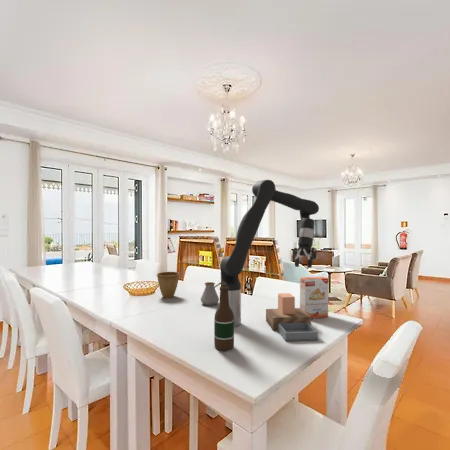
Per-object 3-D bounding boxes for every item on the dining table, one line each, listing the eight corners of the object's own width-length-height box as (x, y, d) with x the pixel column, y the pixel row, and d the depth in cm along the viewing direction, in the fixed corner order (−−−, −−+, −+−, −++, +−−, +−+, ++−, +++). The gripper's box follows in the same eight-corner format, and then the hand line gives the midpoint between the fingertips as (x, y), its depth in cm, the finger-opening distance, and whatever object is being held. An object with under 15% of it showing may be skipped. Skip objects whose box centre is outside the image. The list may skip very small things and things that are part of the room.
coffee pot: (206, 307, 169) (206, 282, 169) (197, 303, 178) (197, 279, 178) (235, 302, 181) (235, 278, 181) (225, 298, 191) (225, 276, 191)
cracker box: (305, 319, 147) (305, 279, 147) (299, 316, 152) (299, 277, 153) (329, 317, 150) (328, 277, 151) (322, 314, 156) (322, 276, 156)
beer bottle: (233, 343, 117) (233, 284, 117) (234, 351, 109) (234, 288, 109) (214, 343, 117) (214, 284, 117) (214, 351, 109) (214, 288, 109)
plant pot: (155, 295, 198) (155, 272, 199) (175, 293, 205) (175, 271, 205) (159, 300, 185) (159, 275, 185) (181, 298, 191) (181, 274, 191)
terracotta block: (282, 314, 137) (282, 297, 137) (278, 309, 145) (278, 293, 145) (294, 313, 137) (294, 297, 137) (289, 308, 145) (289, 293, 145)
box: (285, 341, 119) (285, 333, 119) (277, 331, 131) (277, 323, 131) (317, 340, 120) (317, 331, 120) (307, 330, 132) (307, 322, 132)
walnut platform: (273, 330, 131) (273, 317, 131) (265, 320, 145) (265, 309, 145) (310, 329, 133) (310, 316, 133) (300, 319, 147) (300, 308, 147)
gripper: (291, 236, 160) (288, 265, 156) (311, 235, 148) (308, 266, 144) (300, 239, 163) (297, 267, 160) (321, 238, 151) (318, 268, 148)
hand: (302, 267), depth 152 cm, fingers open, 8 cm apart
